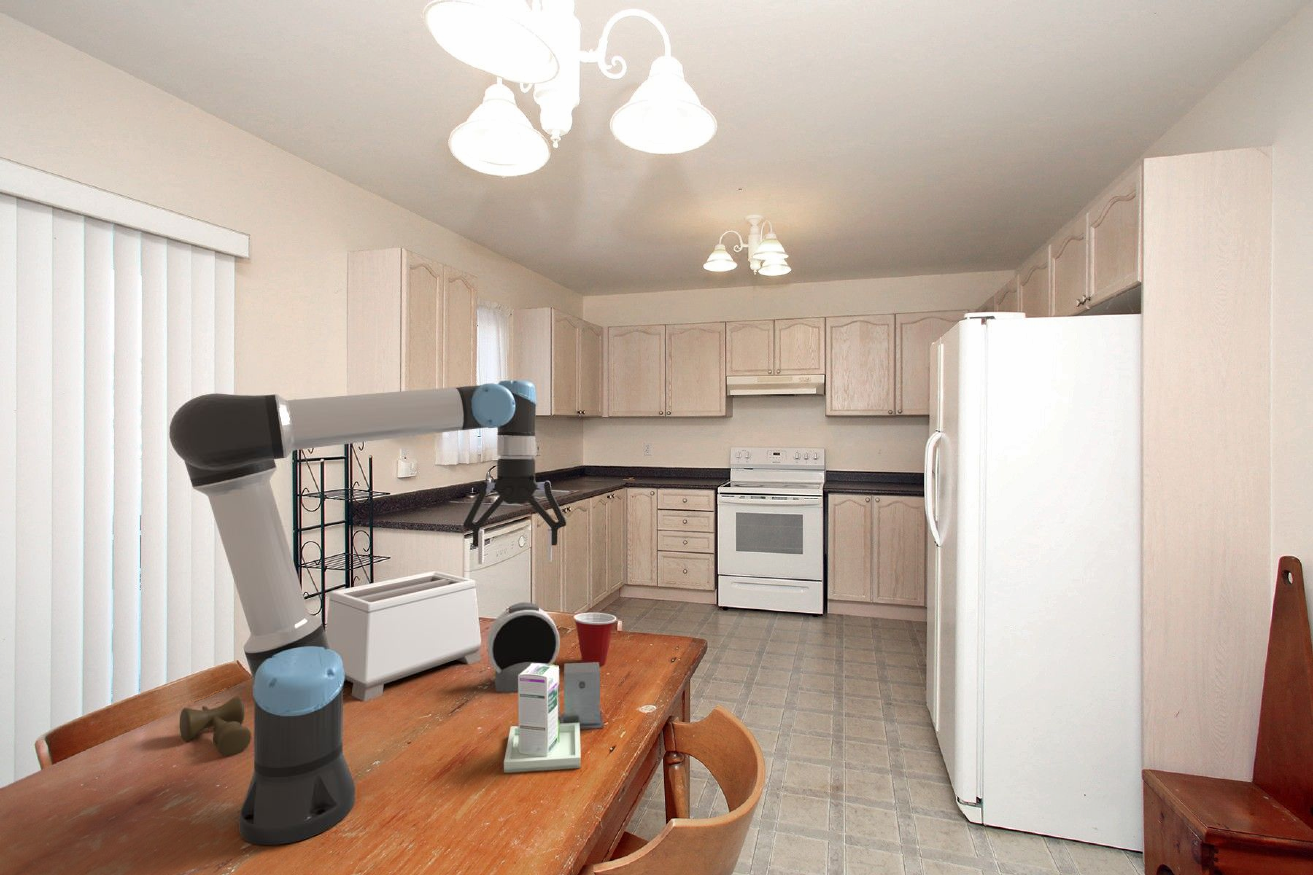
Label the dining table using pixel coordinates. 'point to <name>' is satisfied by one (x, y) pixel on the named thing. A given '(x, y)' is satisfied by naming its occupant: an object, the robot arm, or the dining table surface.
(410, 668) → the toaster
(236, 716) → the kendama
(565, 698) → the gray phone stand
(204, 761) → the dining table surface
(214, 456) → the robot arm
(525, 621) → the alarm clock
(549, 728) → the syrup box
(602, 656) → the plastic cup
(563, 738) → the tray
